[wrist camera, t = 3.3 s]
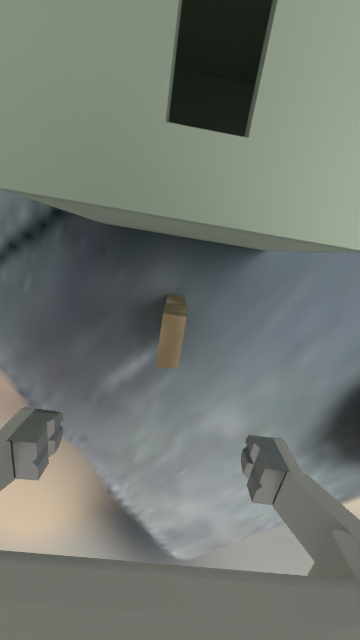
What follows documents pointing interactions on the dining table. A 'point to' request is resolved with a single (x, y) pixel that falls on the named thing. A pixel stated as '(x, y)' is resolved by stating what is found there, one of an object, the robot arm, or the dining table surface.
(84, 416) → the dining table surface
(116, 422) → the dining table surface
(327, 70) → the slot box
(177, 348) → the wooden domino
